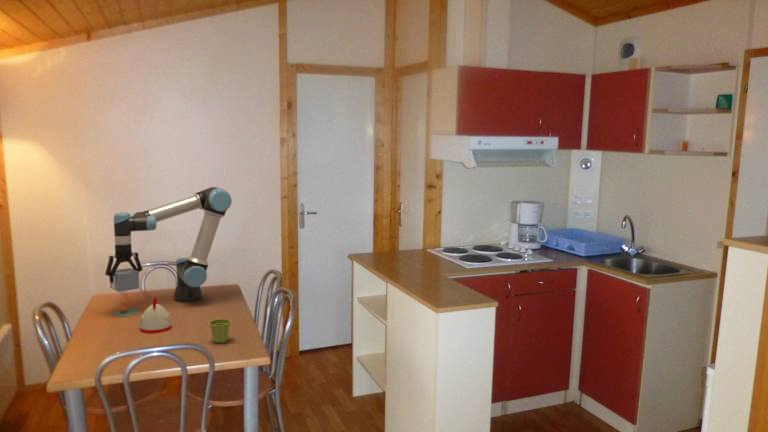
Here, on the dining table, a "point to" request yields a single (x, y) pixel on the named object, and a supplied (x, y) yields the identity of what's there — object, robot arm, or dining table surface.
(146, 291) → the dining table surface
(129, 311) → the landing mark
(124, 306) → the ball
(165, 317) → the white and red dome
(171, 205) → the robot arm
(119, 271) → the grey-blue rounded block
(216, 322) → the plant pot
